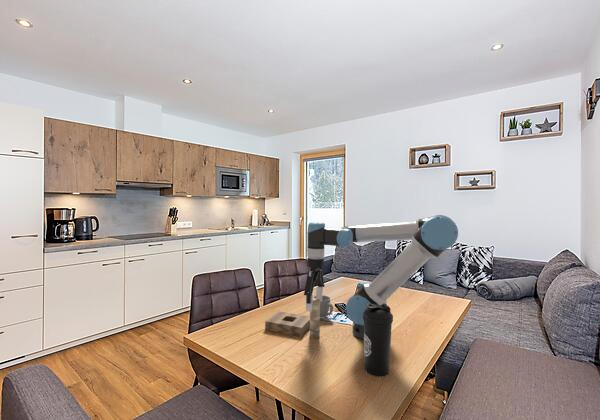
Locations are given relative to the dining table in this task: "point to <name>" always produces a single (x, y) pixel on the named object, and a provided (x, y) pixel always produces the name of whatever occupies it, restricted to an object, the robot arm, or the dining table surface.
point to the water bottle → (377, 339)
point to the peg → (315, 319)
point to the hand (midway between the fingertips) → (314, 305)
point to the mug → (325, 306)
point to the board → (288, 323)
